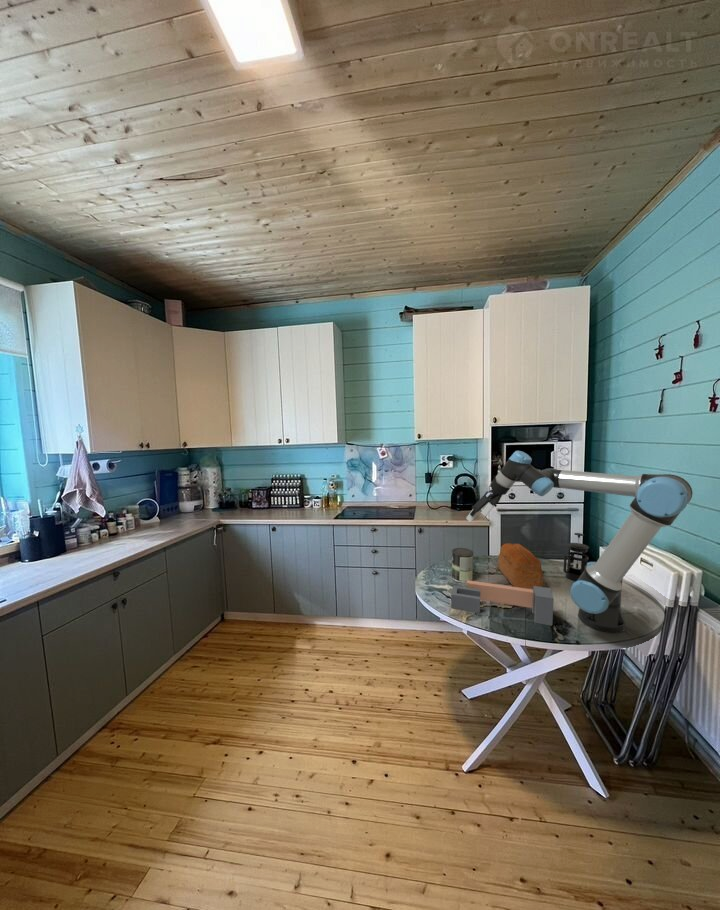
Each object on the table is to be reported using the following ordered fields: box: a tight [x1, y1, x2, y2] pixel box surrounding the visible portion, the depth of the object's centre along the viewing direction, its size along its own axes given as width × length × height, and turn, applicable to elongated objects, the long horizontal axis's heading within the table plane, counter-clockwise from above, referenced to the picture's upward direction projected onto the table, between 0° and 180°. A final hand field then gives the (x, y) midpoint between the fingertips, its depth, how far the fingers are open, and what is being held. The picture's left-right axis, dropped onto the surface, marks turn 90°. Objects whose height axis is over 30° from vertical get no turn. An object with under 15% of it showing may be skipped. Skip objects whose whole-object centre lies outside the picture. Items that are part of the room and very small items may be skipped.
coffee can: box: [451, 547, 474, 584], centre depth 176 cm, size 10×10×14 cm
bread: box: [497, 542, 544, 590], centre depth 177 cm, size 14×27×15 cm, turn 177°
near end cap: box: [531, 586, 555, 627], centre depth 140 cm, size 6×9×11 cm, turn 160°
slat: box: [465, 580, 533, 609], centre depth 154 cm, size 28×3×7 cm, turn 70°
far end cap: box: [450, 585, 481, 614], centre depth 150 cm, size 12×9×6 cm
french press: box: [562, 532, 590, 582], centre depth 177 cm, size 12×9×23 cm
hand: (476, 517), depth 162 cm, fingers open, 13 cm apart
